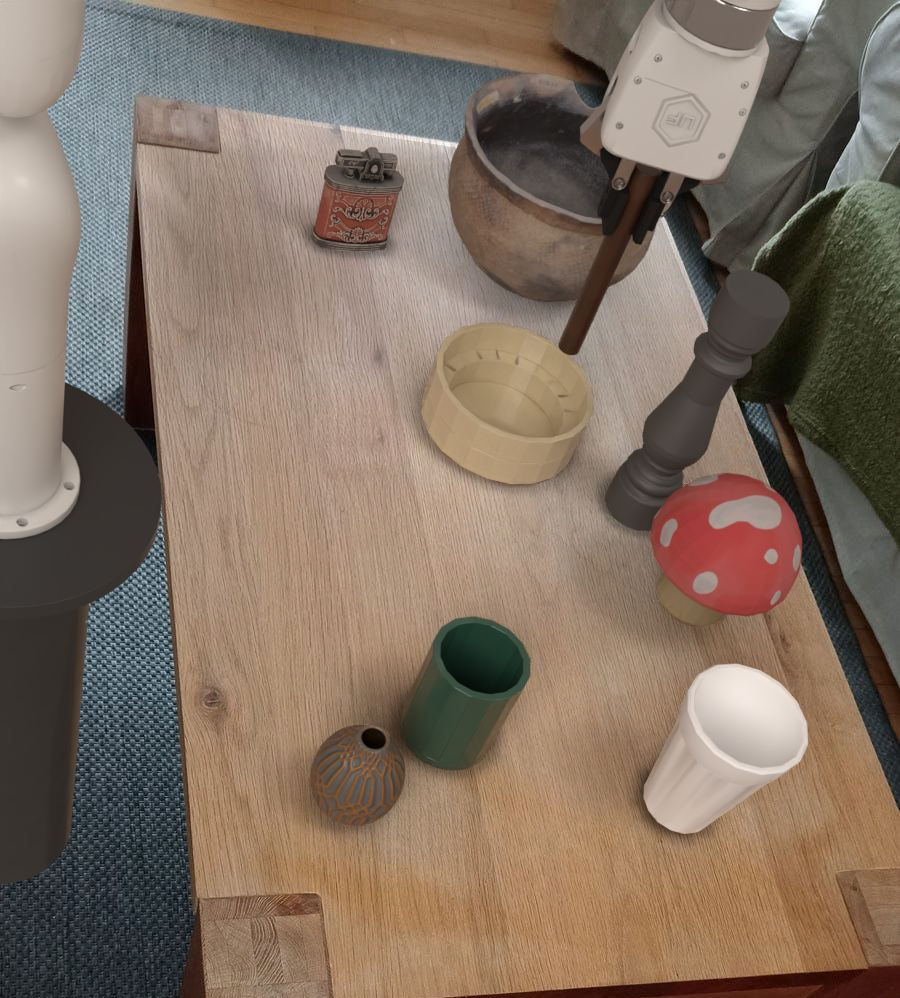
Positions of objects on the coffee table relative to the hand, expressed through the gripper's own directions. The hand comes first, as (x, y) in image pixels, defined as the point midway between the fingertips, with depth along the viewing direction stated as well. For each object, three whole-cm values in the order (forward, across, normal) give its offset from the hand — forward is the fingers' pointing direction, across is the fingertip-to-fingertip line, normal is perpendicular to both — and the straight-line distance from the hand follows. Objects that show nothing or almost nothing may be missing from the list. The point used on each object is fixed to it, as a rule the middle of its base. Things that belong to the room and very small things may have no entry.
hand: (621, 228), depth 107 cm
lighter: (+23, -19, +22) cm, 37 cm away
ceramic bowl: (+24, 0, +25) cm, 34 cm away
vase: (+23, -15, -44) cm, 52 cm away
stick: (+13, 0, 0) cm, 13 cm away
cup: (+24, +13, -39) cm, 47 cm away
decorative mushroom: (+24, +15, -18) cm, 33 cm away
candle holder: (+24, +11, -6) cm, 27 cm away
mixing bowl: (+23, -3, 0) cm, 24 cm away
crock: (+23, -7, -36) cm, 44 cm away
